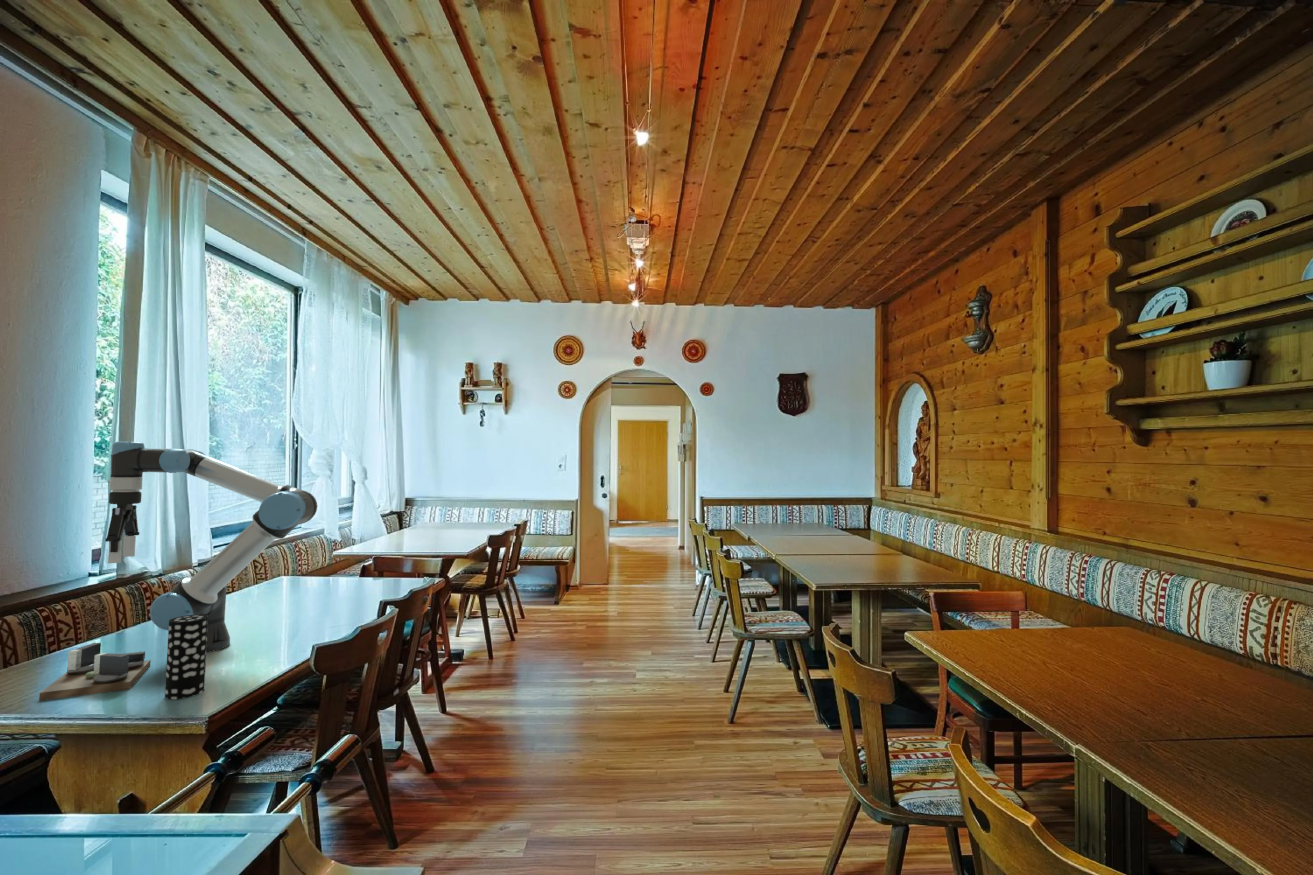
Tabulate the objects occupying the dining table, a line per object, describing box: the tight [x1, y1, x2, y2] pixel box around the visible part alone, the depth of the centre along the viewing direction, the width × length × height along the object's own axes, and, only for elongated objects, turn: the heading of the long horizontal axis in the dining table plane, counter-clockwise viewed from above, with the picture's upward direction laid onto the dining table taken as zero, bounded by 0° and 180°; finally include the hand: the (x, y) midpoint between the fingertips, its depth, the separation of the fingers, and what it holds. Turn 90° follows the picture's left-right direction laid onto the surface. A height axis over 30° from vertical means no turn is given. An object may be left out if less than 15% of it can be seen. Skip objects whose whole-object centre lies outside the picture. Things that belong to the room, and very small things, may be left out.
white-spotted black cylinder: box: [164, 615, 208, 700], centre depth 160 cm, size 8×8×20 cm
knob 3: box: [124, 650, 146, 669], centre depth 173 cm, size 7×7×4 cm
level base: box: [38, 659, 152, 701], centre depth 167 cm, size 18×20×3 cm
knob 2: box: [93, 652, 129, 683], centre depth 163 cm, size 8×7×6 cm
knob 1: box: [66, 642, 102, 674], centre depth 170 cm, size 8×7×7 cm
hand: (121, 559), depth 183 cm, fingers open, 13 cm apart
